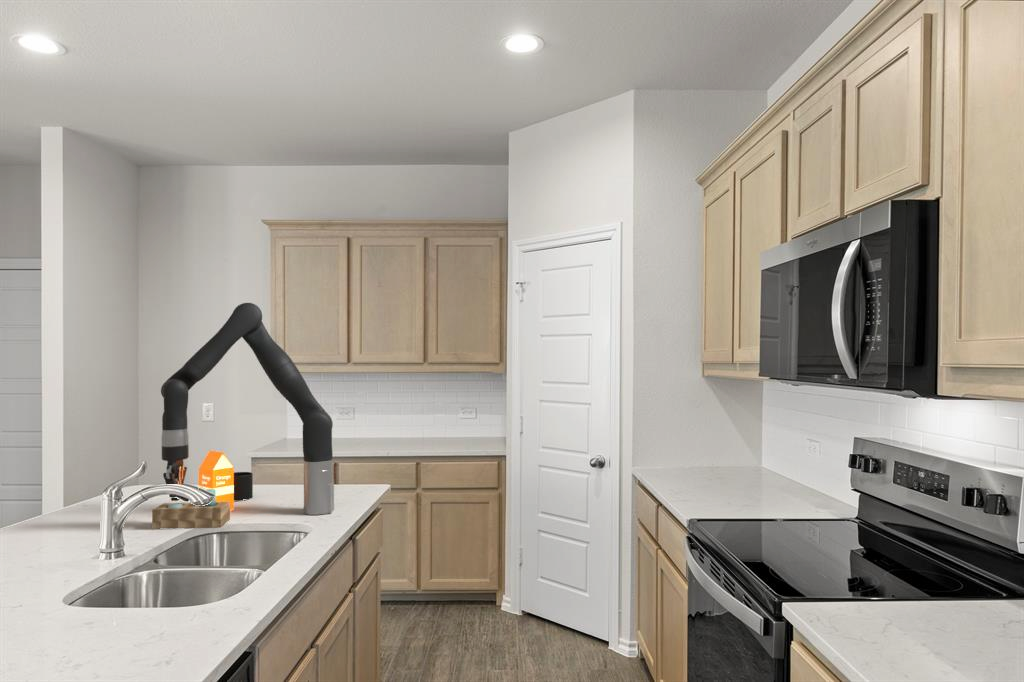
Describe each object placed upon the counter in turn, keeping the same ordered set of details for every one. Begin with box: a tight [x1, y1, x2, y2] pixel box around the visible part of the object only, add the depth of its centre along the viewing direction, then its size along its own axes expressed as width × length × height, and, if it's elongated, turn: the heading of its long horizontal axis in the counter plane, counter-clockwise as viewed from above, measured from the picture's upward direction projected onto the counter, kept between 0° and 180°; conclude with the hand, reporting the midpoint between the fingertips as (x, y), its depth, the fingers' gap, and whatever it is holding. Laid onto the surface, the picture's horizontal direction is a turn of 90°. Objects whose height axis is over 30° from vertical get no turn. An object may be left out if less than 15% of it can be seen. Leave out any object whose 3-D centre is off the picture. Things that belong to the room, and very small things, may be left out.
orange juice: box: [198, 450, 235, 510], centre depth 237 cm, size 8×9×20 cm
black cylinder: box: [234, 471, 254, 500], centre depth 258 cm, size 9×12×9 cm
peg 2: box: [202, 489, 216, 507], centre depth 218 cm, size 4×4×6 cm
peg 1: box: [168, 504, 182, 508], centre depth 217 cm, size 4×4×6 cm
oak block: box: [151, 501, 231, 530], centre depth 217 cm, size 20×9×6 cm, turn 95°
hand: (175, 500), depth 217 cm, fingers closed
